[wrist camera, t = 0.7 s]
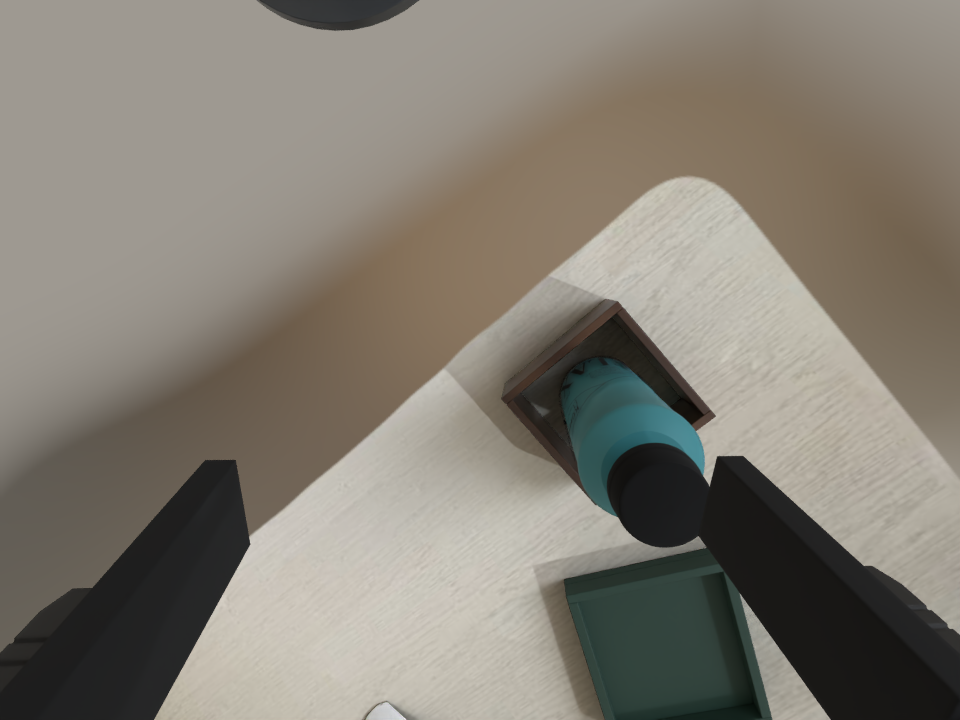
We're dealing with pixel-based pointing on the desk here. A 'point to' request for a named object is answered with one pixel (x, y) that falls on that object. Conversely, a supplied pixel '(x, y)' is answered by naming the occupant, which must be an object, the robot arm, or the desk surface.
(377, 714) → the computer mouse
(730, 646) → the tray
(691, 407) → the crate
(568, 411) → the beverage bottle
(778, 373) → the desk surface
